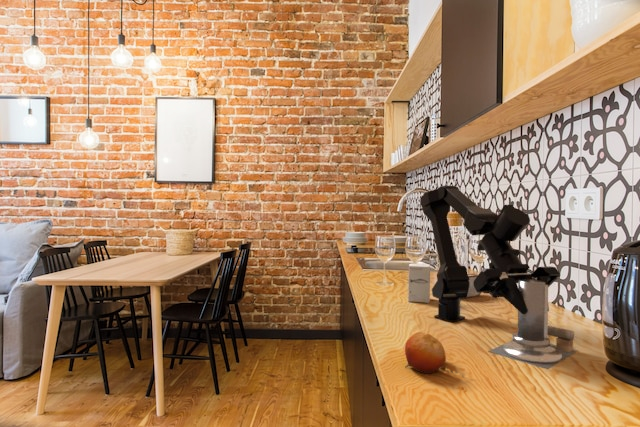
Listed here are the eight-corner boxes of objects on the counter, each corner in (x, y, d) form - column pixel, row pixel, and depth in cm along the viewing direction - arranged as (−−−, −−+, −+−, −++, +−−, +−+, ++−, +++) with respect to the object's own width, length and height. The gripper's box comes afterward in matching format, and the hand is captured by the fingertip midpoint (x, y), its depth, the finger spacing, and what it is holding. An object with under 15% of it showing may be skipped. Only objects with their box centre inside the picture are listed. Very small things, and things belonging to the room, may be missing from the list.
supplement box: (407, 302, 135) (407, 265, 134) (409, 297, 142) (409, 262, 142) (429, 303, 132) (429, 266, 132) (430, 298, 139) (430, 263, 139)
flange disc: (517, 341, 90) (517, 338, 90) (570, 355, 81) (570, 351, 81) (493, 352, 83) (493, 348, 83) (548, 368, 75) (548, 364, 75)
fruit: (407, 349, 84) (425, 321, 82) (437, 376, 80) (457, 348, 77) (388, 360, 78) (407, 331, 75) (420, 390, 74) (441, 360, 71)
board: (521, 341, 94) (521, 336, 94) (578, 355, 84) (578, 350, 84) (487, 356, 84) (487, 351, 84) (547, 375, 74) (547, 369, 74)
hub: (513, 334, 87) (514, 277, 87) (549, 340, 84) (550, 280, 84) (511, 343, 81) (512, 282, 81) (549, 350, 78) (550, 285, 78)
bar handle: (517, 339, 91) (517, 320, 91) (522, 337, 93) (522, 318, 93) (570, 353, 83) (570, 332, 83) (574, 350, 84) (574, 330, 84)
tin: (478, 294, 147) (478, 272, 147) (485, 296, 144) (485, 273, 144) (449, 298, 140) (449, 275, 140) (456, 300, 137) (456, 276, 137)
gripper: (517, 272, 99) (551, 328, 89) (452, 275, 95) (479, 334, 85) (542, 245, 92) (582, 302, 81) (471, 246, 88) (504, 307, 77)
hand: (536, 312), depth 81 cm, fingers closed on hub, 5 cm apart
